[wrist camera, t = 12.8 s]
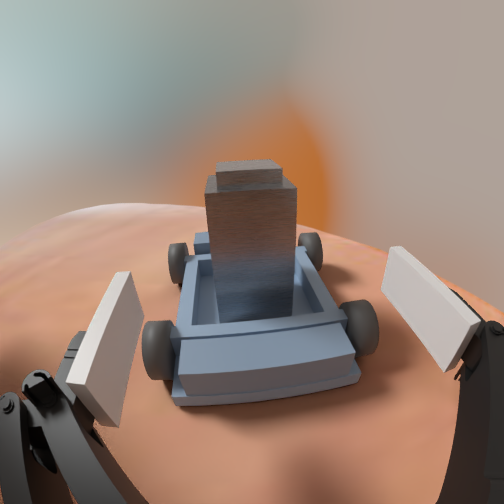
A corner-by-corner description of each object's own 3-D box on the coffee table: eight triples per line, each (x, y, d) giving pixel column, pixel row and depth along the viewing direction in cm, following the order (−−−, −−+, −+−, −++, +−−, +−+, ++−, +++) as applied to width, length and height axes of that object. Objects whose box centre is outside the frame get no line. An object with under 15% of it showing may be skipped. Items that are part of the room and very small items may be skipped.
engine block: (220, 325, 22) (202, 175, 17) (219, 285, 27) (207, 161, 22) (291, 318, 23) (297, 170, 17) (278, 280, 28) (278, 157, 22)
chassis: (154, 405, 16) (133, 367, 14) (179, 265, 34) (174, 233, 32) (376, 377, 17) (393, 336, 15) (306, 254, 35) (308, 222, 33)
